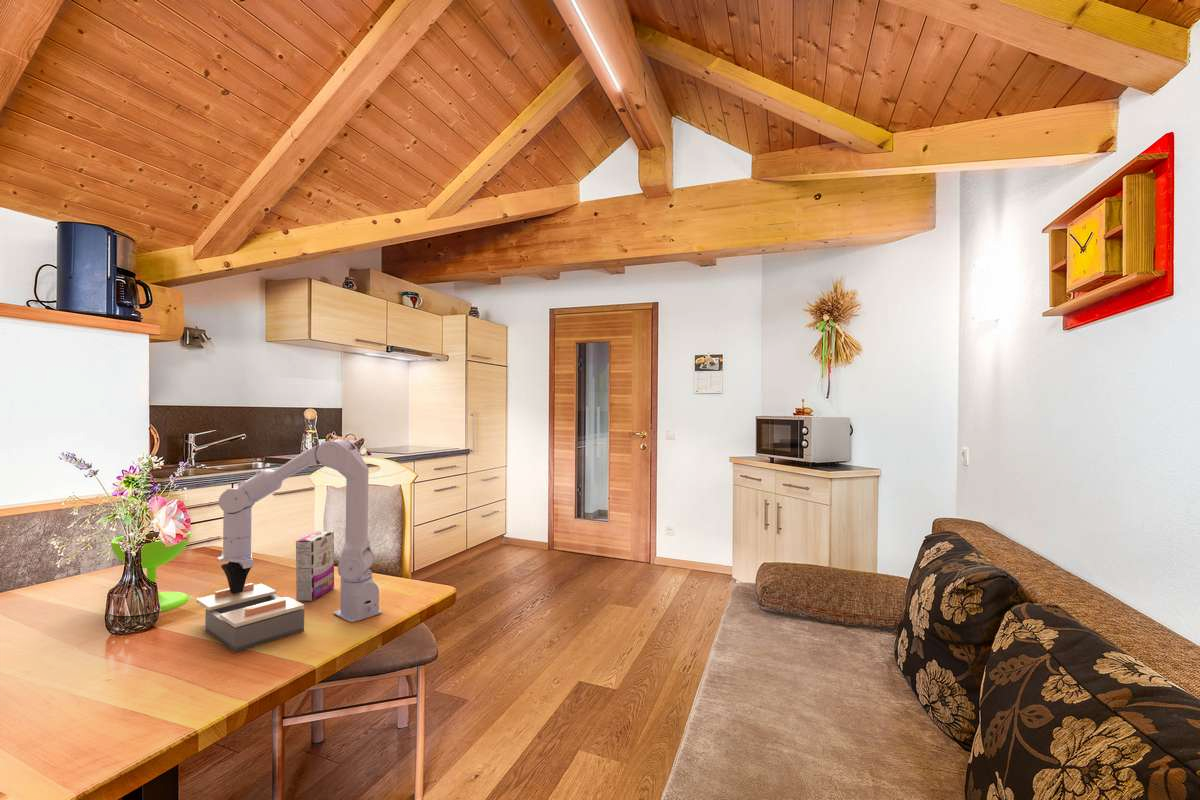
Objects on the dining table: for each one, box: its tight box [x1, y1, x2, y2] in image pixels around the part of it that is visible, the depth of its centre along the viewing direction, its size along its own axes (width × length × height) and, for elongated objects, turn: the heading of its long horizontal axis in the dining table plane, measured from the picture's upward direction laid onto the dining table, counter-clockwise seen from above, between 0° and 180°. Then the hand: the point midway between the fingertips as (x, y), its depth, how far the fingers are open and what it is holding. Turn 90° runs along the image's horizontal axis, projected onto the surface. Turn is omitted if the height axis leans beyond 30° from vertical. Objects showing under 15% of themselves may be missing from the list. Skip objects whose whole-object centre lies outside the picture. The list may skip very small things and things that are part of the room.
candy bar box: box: [295, 530, 335, 602], centre depth 149 cm, size 11×5×16 cm, turn 179°
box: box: [204, 594, 305, 654], centre depth 125 cm, size 18×14×5 cm
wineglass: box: [110, 530, 191, 613], centre depth 141 cm, size 16×16×18 cm
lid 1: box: [195, 582, 277, 611], centre depth 131 cm, size 9×14×2 cm, turn 142°
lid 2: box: [220, 596, 305, 627], centre depth 122 cm, size 9×14×2 cm, turn 142°
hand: (236, 592), depth 131 cm, fingers closed
